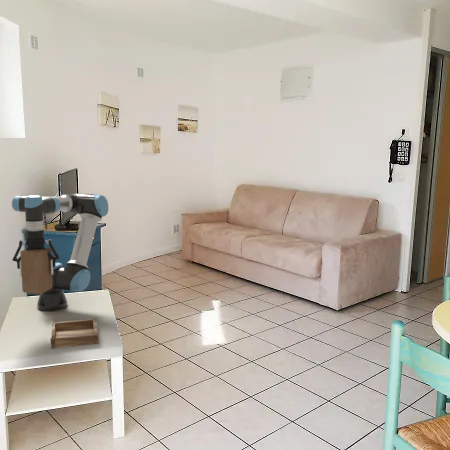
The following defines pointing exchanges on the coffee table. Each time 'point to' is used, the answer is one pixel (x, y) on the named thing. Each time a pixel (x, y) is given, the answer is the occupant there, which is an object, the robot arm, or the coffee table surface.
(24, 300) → the coffee table surface
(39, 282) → the wooden block
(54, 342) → the crate
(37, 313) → the coffee table surface
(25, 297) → the coffee table surface
